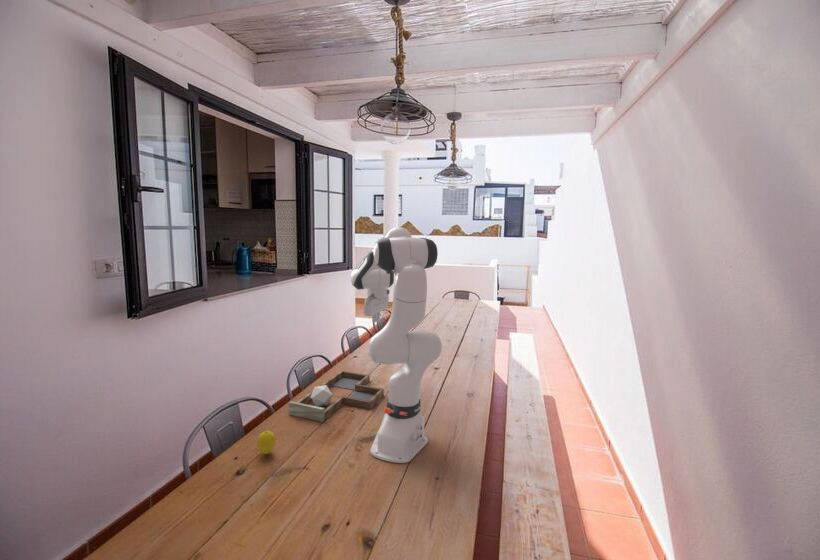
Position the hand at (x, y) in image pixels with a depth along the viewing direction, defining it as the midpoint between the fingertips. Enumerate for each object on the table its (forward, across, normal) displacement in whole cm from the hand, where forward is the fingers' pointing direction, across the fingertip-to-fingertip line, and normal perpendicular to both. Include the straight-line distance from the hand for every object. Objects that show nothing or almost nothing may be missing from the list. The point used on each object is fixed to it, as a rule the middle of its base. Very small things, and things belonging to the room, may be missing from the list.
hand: (376, 321), depth 177 cm
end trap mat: (+31, -4, +12) cm, 34 cm away
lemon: (+31, -64, +10) cm, 72 cm away
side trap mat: (+31, -16, -1) cm, 35 cm away
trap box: (+31, -18, +6) cm, 36 cm away
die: (+31, -27, +12) cm, 43 cm away
